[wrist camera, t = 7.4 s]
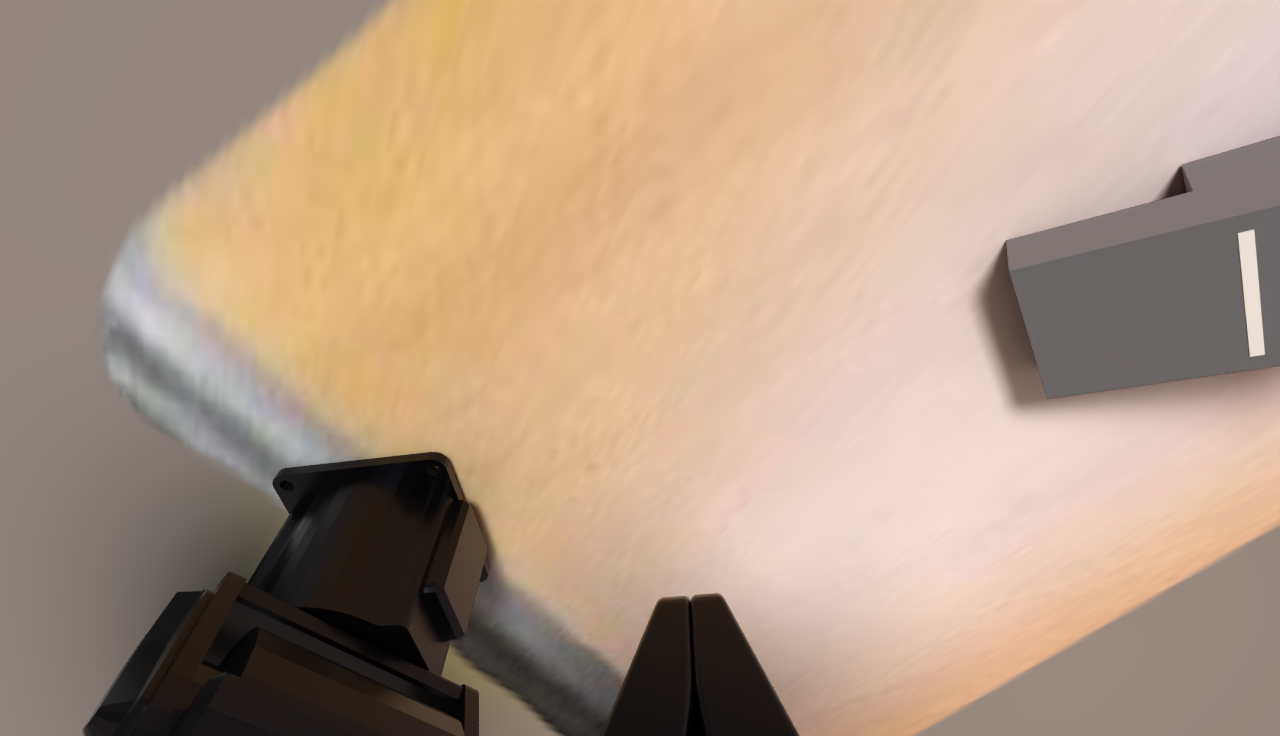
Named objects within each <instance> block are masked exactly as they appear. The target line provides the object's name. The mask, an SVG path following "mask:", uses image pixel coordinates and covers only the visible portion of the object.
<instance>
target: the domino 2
mask: <svg viewBox="0 0 1280 736" xmlns="http://www.w3.org/2000/svg"><path fill="white" fill-rule="evenodd" d="M1278 168H1280V136H1277V137H1274V138H1271V139H1267V140H1264V141H1261V142H1257V143H1254V144H1250V145H1247V146H1244V147H1240V148H1237V149H1233V150H1230V151H1227V152H1223V153H1220V154H1217V155H1213V156H1210V157H1206V158H1203V159H1200V160H1196V161H1193V162H1189V163H1186V164H1183V165H1182V171H1183V177H1184V183H1185V189H1186V193H1188V192H1191V191H1195V190H1199V189H1203V188H1206V187H1210V186H1214V185H1218V184H1222V183H1225V182H1229V181H1233V180H1237V179H1240V178H1244V177H1248V176H1252V175H1256V174H1259V173H1263V172H1267V171H1271V170H1274V169H1278Z"/></svg>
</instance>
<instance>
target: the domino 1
mask: <svg viewBox="0 0 1280 736" xmlns="http://www.w3.org/2000/svg"><path fill="white" fill-rule="evenodd" d="M1006 246H1007V257H1008V267H1009V273H1010V276H1011V280H1012V283H1013V286H1014V290H1015V293H1016V296H1017V300H1018V303H1019V306H1020V310H1021V313H1022V316H1023V320H1024V323H1025V327H1026V330H1027V333H1028V337H1029V340H1030V343H1031V347H1032V350H1033V353H1034V357H1035V360H1036V363H1037V367H1038V370H1039V373H1040V377H1041V380H1042V383H1043V387H1044V390H1045V393H1046V397H1047V399H1052V398H1059V397H1066V396H1073V395H1080V394H1087V393H1094V392H1101V391H1108V390H1115V389H1122V388H1129V387H1136V386H1143V385H1150V384H1157V383H1164V382H1171V381H1178V380H1185V379H1192V378H1199V377H1206V376H1213V375H1220V374H1227V373H1234V372H1241V371H1248V370H1255V369H1262V368H1269V367H1276V366H1280V168H1278V169H1274V170H1271V171H1267V172H1263V173H1259V174H1256V175H1252V176H1248V177H1244V178H1240V179H1237V180H1233V181H1229V182H1225V183H1222V184H1218V185H1214V186H1210V187H1206V188H1203V189H1199V190H1195V191H1191V192H1188V193H1184V194H1180V195H1176V196H1173V197H1169V198H1165V199H1161V200H1157V201H1154V202H1150V203H1146V204H1142V205H1139V206H1135V207H1131V208H1127V209H1123V210H1120V211H1116V212H1112V213H1108V214H1105V215H1101V216H1097V217H1093V218H1090V219H1086V220H1082V221H1078V222H1074V223H1071V224H1067V225H1063V226H1059V227H1056V228H1052V229H1048V230H1044V231H1040V232H1037V233H1033V234H1029V235H1025V236H1022V237H1018V238H1014V239H1010V240H1007V241H1006Z"/></svg>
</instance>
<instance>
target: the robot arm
mask: <svg viewBox="0 0 1280 736" xmlns="http://www.w3.org/2000/svg"><path fill="white" fill-rule="evenodd" d="M431 465H436V466H438V467H439V468H434V467H432V466H431ZM287 481H289V482H291V483H289V482H287ZM273 487H274V489H275V490H276V492H277V494H278V495H279V497H280V499H281V501H282V502H283V504H284V506H285V507H286V509H287V511H288V513H289V514H290V515H289V516H288V518H287V520H286V521H285V523H284V525H283V526H282V528H281V529H280V531H279V533H278V535H277V536H276V538H275V539H274V541H273V542H272V544H271V546H270V547H269V549H268V551H267V552H266V554H265V555H264V557H263V559H262V560H261V562H260V564H259V565H258V567H257V568H256V570H255V572H254V574H253V575H252V577H251V578H250V580H249V582H248V583H245V581H246V579H245V578H243V577H241V576H239V575H237V574H234V573H232V572H230V571H229V572H227V574H226V575H225V576H224V577H223V578H222V579H221V581H220V582H219V583H218V584H217V585H216V586H215V588H214V589H213V590H212V591H209V590H205V589H203V590H202V591H198V592H197V591H194V592H177V593H176V594H175V595H174V597H173V598H172V599H171V600H170V602H169V603H168V604H167V606H166V607H165V609H164V610H163V611H162V613H161V614H160V616H159V617H158V618H157V620H156V621H155V623H154V624H153V625H152V627H151V628H150V629H149V631H148V632H147V634H146V635H145V637H144V638H143V639H142V641H141V642H140V644H139V645H138V646H137V648H136V649H135V651H134V652H133V654H132V655H131V657H130V658H129V659H128V661H127V662H126V664H125V665H124V667H123V668H122V670H121V671H120V673H119V674H118V676H117V677H116V679H115V680H114V682H113V684H112V685H111V687H110V688H109V690H108V691H107V693H106V694H105V696H104V698H103V699H102V701H101V702H100V704H99V705H98V707H97V708H96V710H95V711H94V713H93V714H92V716H91V717H90V719H89V721H88V722H87V724H86V725H85V727H84V728H83V730H82V731H83V736H479V702H478V701H479V693H478V691H477V690H475V689H473V688H471V687H468V686H466V685H464V684H463V685H461V686H459V685H458V684H455V683H453V682H451V681H449V680H447V679H445V678H443V677H441V674H442V670H443V667H444V663H445V659H446V656H447V652H448V649H449V645H450V642H455V641H460V640H461V639H462V638H463V637H464V635H465V634H466V631H467V627H468V623H469V619H470V615H471V611H472V608H473V604H474V600H475V596H476V592H477V588H478V584H479V582H482V581H484V580H486V579H487V577H488V574H489V570H490V565H489V562H488V560H487V557H486V554H487V545H486V543H485V540H484V537H483V535H482V532H481V530H480V527H479V524H478V522H477V519H476V517H475V514H474V511H473V509H472V506H471V504H470V503H469V502H468V501H467V500H465V499H464V498H463V495H462V493H461V490H460V488H459V485H458V482H457V480H456V477H455V475H454V472H453V469H452V467H451V464H450V462H449V460H448V459H447V457H446V456H444V455H443V454H440V453H438V452H428V453H419V454H410V455H401V456H392V457H383V458H374V459H365V460H356V461H346V462H337V463H328V464H319V465H310V466H301V467H292V468H285V469H281V470H280V471H279V472H278V474H277V475H276V477H275V478H274V479H273ZM601 736H800V735H799V734H798V732H797V730H796V728H795V726H794V725H793V723H792V721H791V719H790V717H789V715H788V714H787V712H786V710H785V708H784V706H783V704H782V703H781V701H780V699H779V697H778V695H777V694H776V692H775V690H774V688H773V686H772V684H771V683H770V681H769V679H768V677H767V675H766V674H765V672H764V670H763V668H762V666H761V664H760V663H759V661H758V659H757V657H756V655H755V653H754V652H753V650H752V648H751V646H750V644H749V643H748V641H747V639H746V637H745V635H744V633H743V632H742V630H741V628H740V626H739V624H738V623H737V621H736V619H735V617H734V615H733V613H732V612H731V610H730V608H729V606H728V604H727V602H726V601H725V599H724V598H723V596H722V595H720V594H718V593H714V594H702V595H695V596H693V597H692V598H691V602H690V599H689V598H688V597H686V596H677V597H665V598H661V599H660V600H659V601H658V602H657V603H656V605H655V608H654V610H653V613H652V615H651V617H650V620H649V622H648V625H647V627H646V629H645V632H644V634H643V637H642V639H641V641H640V644H639V646H638V649H637V651H636V653H635V656H634V658H633V661H632V663H631V665H630V668H629V670H628V673H627V675H626V677H625V680H624V682H623V685H622V687H621V689H620V692H619V694H618V697H617V699H616V701H615V704H614V706H613V709H612V711H611V713H610V716H609V718H608V721H607V723H606V725H605V728H604V730H603V733H602V735H601Z"/></svg>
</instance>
